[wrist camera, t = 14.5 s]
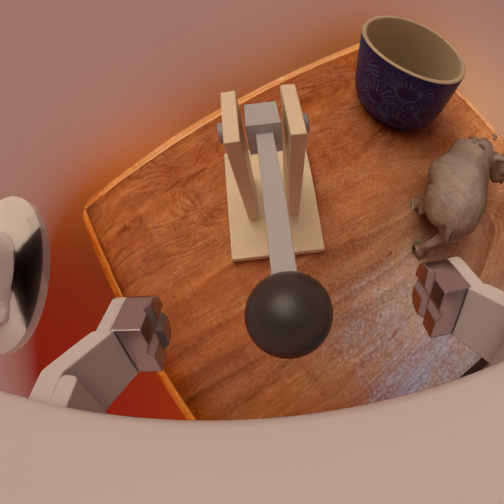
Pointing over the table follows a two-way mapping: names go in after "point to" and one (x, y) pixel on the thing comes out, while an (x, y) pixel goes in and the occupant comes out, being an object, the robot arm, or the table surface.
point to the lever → (281, 258)
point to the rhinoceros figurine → (458, 190)
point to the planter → (405, 72)
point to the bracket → (250, 188)
